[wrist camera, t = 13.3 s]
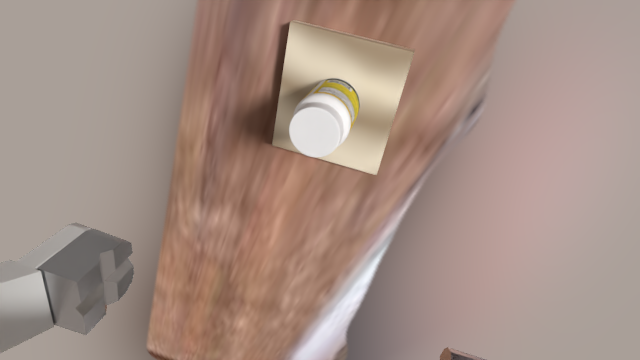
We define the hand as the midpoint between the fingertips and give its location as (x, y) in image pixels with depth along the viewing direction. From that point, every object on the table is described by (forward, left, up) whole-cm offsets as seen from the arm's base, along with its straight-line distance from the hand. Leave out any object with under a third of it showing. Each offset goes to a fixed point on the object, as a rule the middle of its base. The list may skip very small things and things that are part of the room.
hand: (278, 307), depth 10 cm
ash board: (+4, -3, -30) cm, 30 cm away
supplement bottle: (+4, -3, -28) cm, 29 cm away
